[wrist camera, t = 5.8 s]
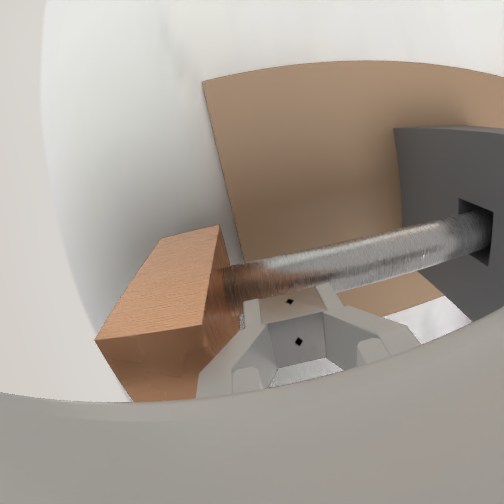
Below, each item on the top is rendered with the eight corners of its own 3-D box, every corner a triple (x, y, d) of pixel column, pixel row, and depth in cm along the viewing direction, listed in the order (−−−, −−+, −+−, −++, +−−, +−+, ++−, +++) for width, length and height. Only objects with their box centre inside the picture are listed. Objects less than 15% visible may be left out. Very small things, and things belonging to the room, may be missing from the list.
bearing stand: (522, 255, 23) (594, 305, 11) (264, 339, 24) (284, 480, 12) (519, 83, 15) (610, 91, 3) (203, 84, 16) (147, -6, 4)
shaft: (519, 221, 15) (592, 262, 7) (185, 306, 15) (155, 429, 8) (520, 170, 13) (602, 199, 6) (161, 238, 14) (94, 339, 6)
